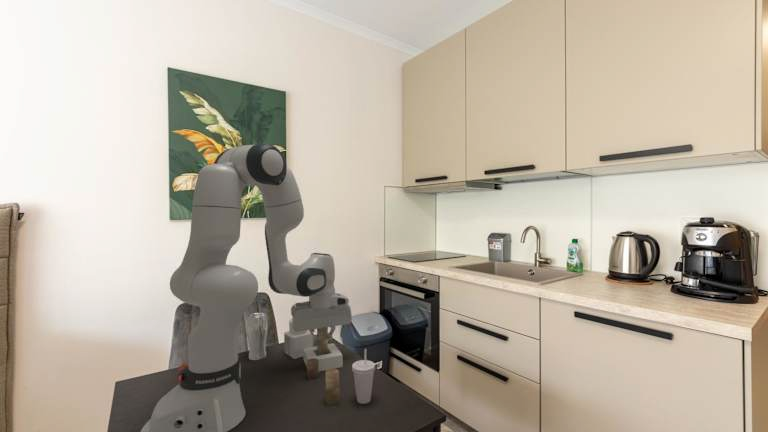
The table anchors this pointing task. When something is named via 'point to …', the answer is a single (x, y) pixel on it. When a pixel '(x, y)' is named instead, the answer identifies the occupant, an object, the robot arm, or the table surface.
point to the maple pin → (322, 341)
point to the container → (296, 341)
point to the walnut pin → (312, 369)
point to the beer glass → (257, 335)
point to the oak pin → (332, 386)
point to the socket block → (324, 357)
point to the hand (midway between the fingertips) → (322, 340)
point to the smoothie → (363, 379)
